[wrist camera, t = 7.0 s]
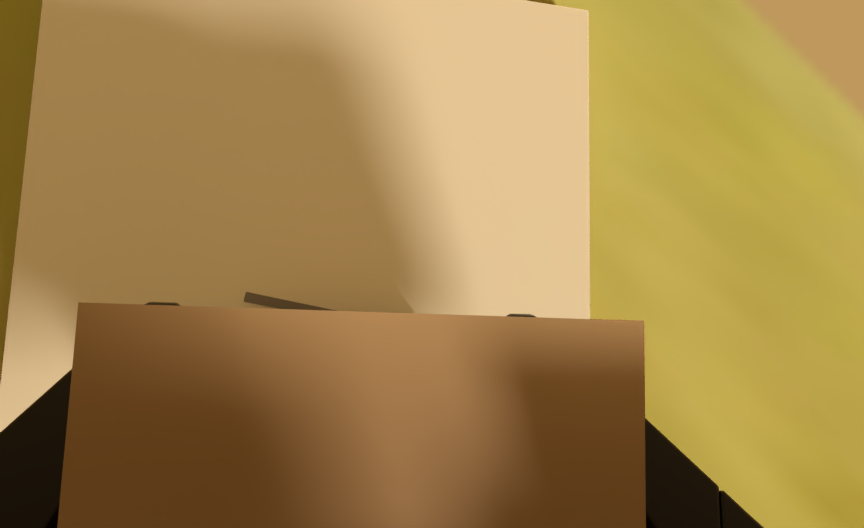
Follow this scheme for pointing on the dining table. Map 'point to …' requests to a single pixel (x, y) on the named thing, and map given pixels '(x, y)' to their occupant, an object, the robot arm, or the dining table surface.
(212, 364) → the block
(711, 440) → the dining table surface
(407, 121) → the board
